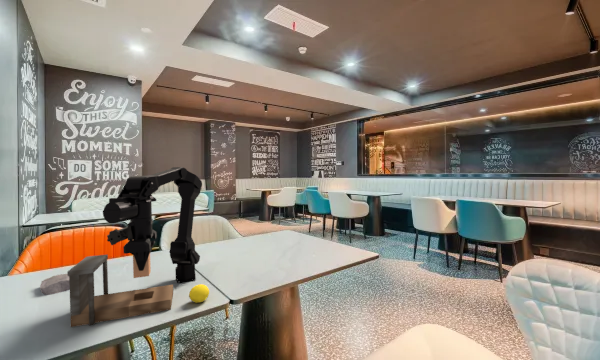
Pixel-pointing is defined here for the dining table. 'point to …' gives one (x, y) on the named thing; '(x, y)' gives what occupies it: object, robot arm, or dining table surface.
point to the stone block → (55, 284)
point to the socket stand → (110, 296)
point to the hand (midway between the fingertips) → (142, 268)
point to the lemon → (199, 293)
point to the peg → (145, 272)
